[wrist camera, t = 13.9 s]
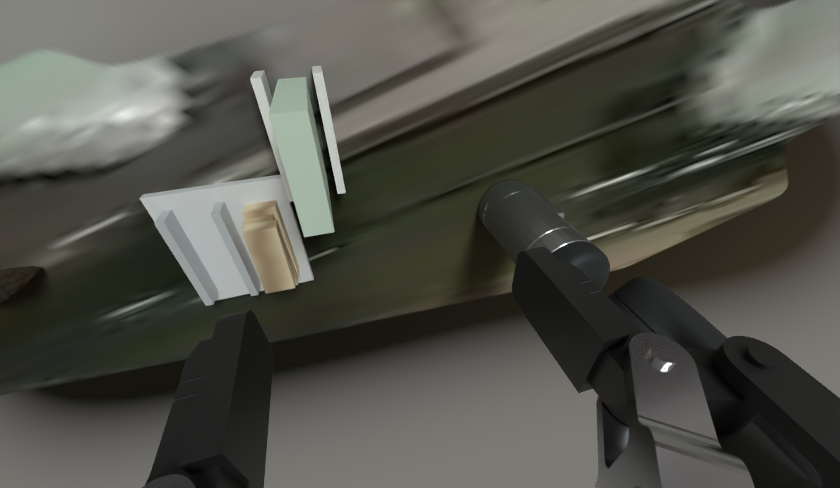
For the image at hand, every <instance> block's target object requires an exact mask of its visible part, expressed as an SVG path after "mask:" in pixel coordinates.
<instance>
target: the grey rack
mask: <svg viewBox="0 0 840 488" xmlns="http://www.w3.org/2000/svg"><path fill="white" fill-rule="evenodd" d="M140 200H141V201H142V203H143V205H144V206H145V208H146V209H147V211H148V212H149V214H150V216H151V217H152V219H153V220H154V222H155V223H154V224H155V226H156V228H157V229H158V231H159V232H160V234H161V235H162V237H163V239H164V240H165V242H166V243H167V245H168V246H169V248H170V250H171V251H172V253H173V254H174V256H175V258H176V259H177V261H178V262H179V264H180V265H181V267H182V269H183V270H184V272H185V273H186V275H187V277H188V278H189V280H190V281H191V283H192V284H193V286H194V288H195V289H196V291H197V292H198V294H199V295H200V297H201V299H202V300H203V302H204V303H205V305H206V306H208V305H213V304H214V302H215V301H216V300H221V299H226V298H230V297H235V296H240V295H245V294H249V293H250V295H251V296H255V295H259V291H264V288H263V285H262V283H261V280H260V278H259V275H258V273H257V270H256V268H255V265H254V263H253V260H252V258H251V255H250V253H249V250H248V248H247V245H246V243H245V240H244V238H243V235H242V224H243V221H244V217H243V215H242V210H243V207H244V205H249V204H255V203H261V202H268V201H274V200H276V201H277V204H278V207H279V210H280V213H281V216H282V219H283V222H284V225H285V227H286V230H287V233H288V236H289V239H290V242H291V245H292V248H293V251H294V254H295V257H296V260H297V262H298V265H299V277H298V283H302V282H307V281H311V280H314V276H313V272H312V269H311V266H310V263H309V260H308V256H307V253H306V250H305V247H304V244H303V240H302V237H301V234H300V231H299V228H298V224H297V221H296V218H295V215H294V212H293V209H292V205H291V202H289V200H288V197H287V194H286V190H285V187H284V184H283V181H282V178H281V175H274V176H267V177H260V178H253V179H246V180H240V181H233V182H226V183H219V184H212V185H205V186H198V187H191V188H184V189H177V190H171V191H164V192H157V193H150V194H143V195H142V196H141V197H140Z"/></svg>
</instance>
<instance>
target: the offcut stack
mask: <svg viewBox="0 0 840 488" xmlns="http://www.w3.org/2000/svg"><path fill="white" fill-rule="evenodd" d="M242 215H243V217H244V221H243V224H242V235H243V238H244V240H245V243H246V245H247V248H248V250H249V253H250V255H251V258H252V260H253V263H254V265H255V268H256V270H257V273H258V275H259V278H260V280H261V283H262V285H263V288H264V290H265V293H266V294H267V293H272V292H277V291H283V290H288V289H293V288H295V285H298V277H299V265H298V262H297V260H296V257H295V254H294V251H293V248H292V245H291V242H290V239H289V236H288V233H287V230H286V227H285V225H284V222H283V219H282V216H281V213H280V210H279V207H278V204H277V201H276V200H274V201H268V202H261V203H255V204H249V205H244V207H243V210H242Z"/></svg>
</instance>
